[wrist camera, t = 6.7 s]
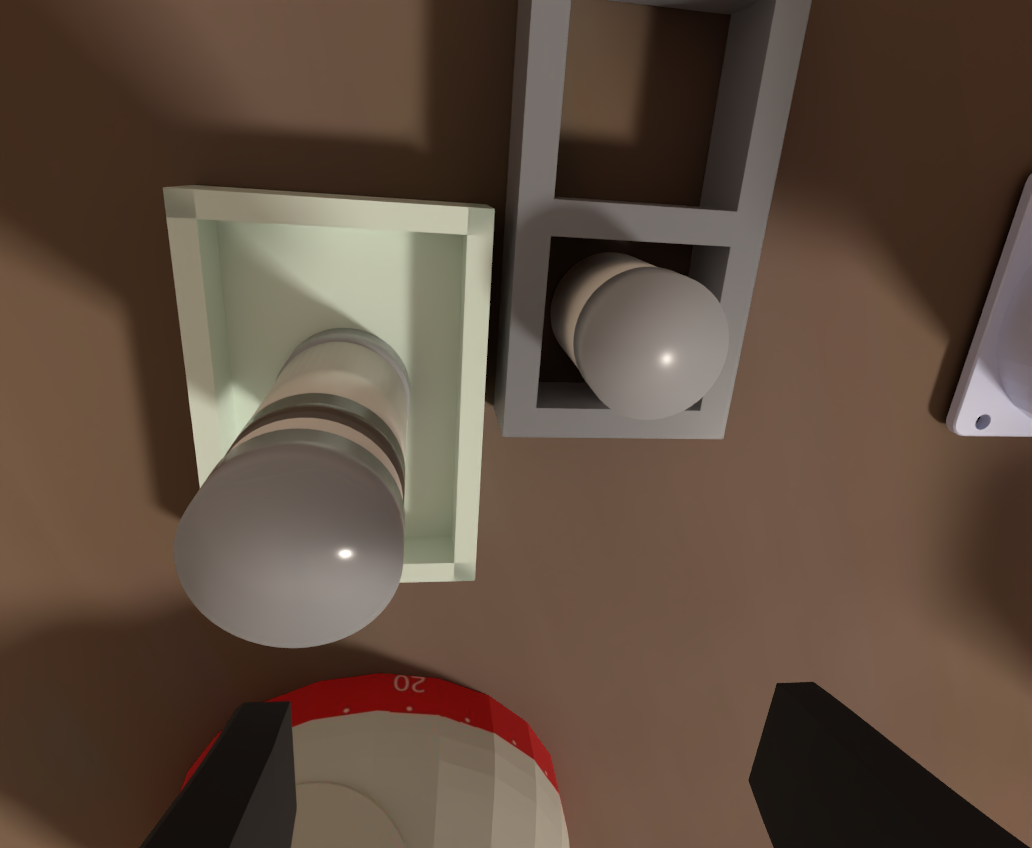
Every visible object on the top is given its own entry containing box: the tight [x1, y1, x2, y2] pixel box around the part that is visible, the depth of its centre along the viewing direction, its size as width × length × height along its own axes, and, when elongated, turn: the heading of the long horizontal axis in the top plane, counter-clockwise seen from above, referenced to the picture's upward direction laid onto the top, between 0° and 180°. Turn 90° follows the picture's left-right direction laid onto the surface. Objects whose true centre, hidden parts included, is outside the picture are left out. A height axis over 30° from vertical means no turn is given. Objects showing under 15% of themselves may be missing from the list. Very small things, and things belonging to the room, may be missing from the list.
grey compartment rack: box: [494, 0, 812, 439], centre depth 15 cm, size 6×11×4 cm, turn 176°
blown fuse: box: [174, 328, 410, 648], centre depth 13 cm, size 3×3×8 cm
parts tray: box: [163, 185, 495, 582], centre depth 17 cm, size 7×10×2 cm
